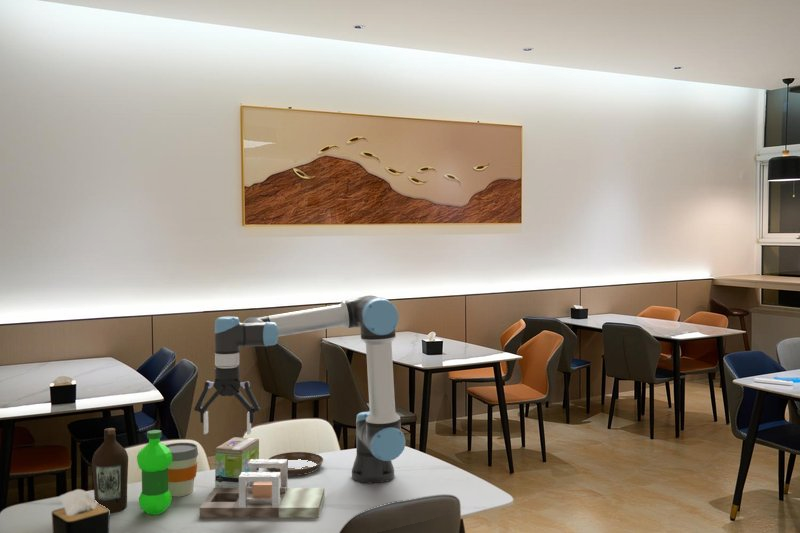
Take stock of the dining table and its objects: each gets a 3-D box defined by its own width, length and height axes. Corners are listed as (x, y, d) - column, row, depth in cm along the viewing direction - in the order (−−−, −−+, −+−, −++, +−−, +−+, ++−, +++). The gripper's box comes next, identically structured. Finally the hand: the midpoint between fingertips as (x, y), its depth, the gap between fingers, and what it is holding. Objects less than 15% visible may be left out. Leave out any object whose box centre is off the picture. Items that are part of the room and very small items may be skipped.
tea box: (242, 493, 251) (242, 449, 250) (214, 491, 253) (213, 447, 252) (259, 479, 266) (259, 437, 265) (233, 477, 268) (232, 436, 267)
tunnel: (287, 487, 247) (287, 459, 247) (278, 507, 229) (278, 476, 229) (250, 487, 247) (250, 459, 247) (239, 507, 229) (238, 476, 229)
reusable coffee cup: (206, 488, 256) (205, 444, 255) (181, 500, 244) (180, 454, 244) (177, 483, 261) (176, 440, 260) (151, 495, 249) (150, 450, 249)
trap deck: (324, 497, 247) (324, 487, 247) (318, 517, 229) (318, 507, 229) (214, 497, 247) (214, 488, 247) (199, 517, 229) (199, 507, 229)
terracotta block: (275, 494, 241) (275, 478, 241) (272, 500, 235) (272, 484, 235) (256, 494, 241) (256, 478, 241) (252, 500, 235) (252, 484, 235)
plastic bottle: (139, 519, 228) (138, 437, 227) (137, 508, 237) (135, 429, 236) (174, 514, 232) (173, 434, 231) (170, 503, 241) (169, 426, 240)
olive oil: (95, 503, 242) (94, 426, 241) (131, 500, 244) (129, 424, 243) (90, 515, 231) (88, 434, 230) (126, 512, 234) (125, 432, 233)
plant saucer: (320, 477, 268) (319, 468, 268) (261, 477, 268) (261, 468, 268) (326, 460, 289) (326, 451, 288) (272, 460, 289) (272, 451, 289)
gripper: (269, 364, 241) (269, 430, 242) (190, 363, 242) (191, 429, 243) (264, 368, 234) (264, 436, 235) (184, 367, 234) (184, 436, 235)
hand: (227, 433), depth 239 cm, fingers open, 13 cm apart
